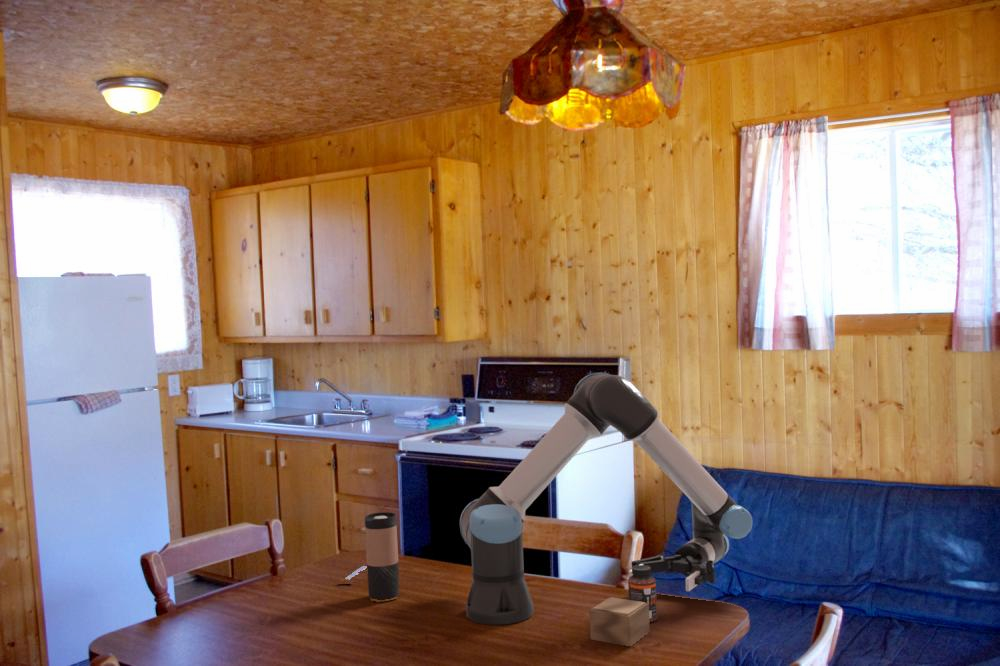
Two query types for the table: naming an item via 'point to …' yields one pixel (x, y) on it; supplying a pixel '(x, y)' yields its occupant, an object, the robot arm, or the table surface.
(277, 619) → the table surface
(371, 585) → the travel mug
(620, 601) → the light wooden box
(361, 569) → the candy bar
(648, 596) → the supplement bottle
